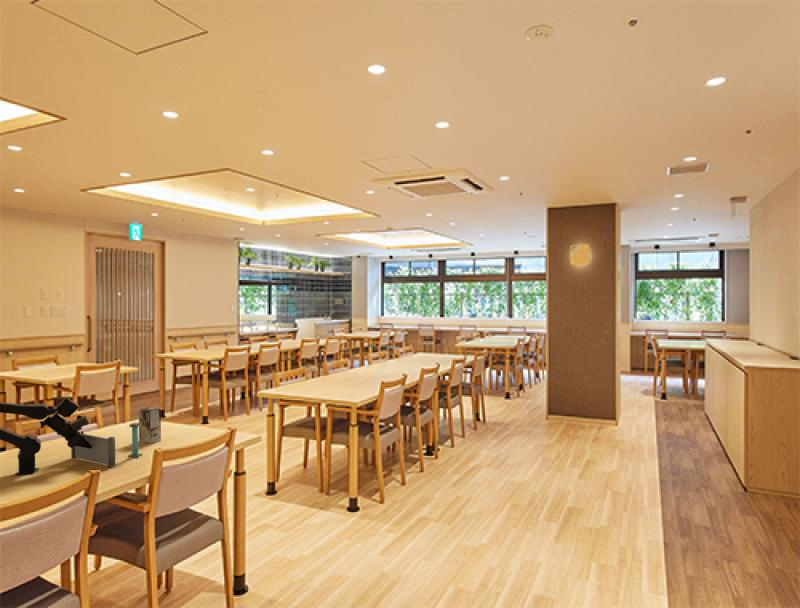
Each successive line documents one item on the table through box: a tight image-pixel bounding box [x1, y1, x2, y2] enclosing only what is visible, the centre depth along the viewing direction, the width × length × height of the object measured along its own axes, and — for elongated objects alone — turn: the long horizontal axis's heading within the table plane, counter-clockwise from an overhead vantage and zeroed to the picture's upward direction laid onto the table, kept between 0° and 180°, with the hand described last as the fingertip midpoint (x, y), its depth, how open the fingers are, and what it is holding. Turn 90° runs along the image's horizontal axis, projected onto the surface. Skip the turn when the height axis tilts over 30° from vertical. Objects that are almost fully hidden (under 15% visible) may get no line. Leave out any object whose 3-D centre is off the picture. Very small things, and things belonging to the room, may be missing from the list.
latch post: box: [127, 422, 143, 458], centre depth 240 cm, size 5×3×15 cm, turn 87°
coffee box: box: [138, 406, 162, 444], centre depth 266 cm, size 9×6×16 cm
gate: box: [70, 433, 116, 467], centre depth 232 cm, size 29×3×13 cm, turn 63°
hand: (90, 447), depth 231 cm, fingers closed
